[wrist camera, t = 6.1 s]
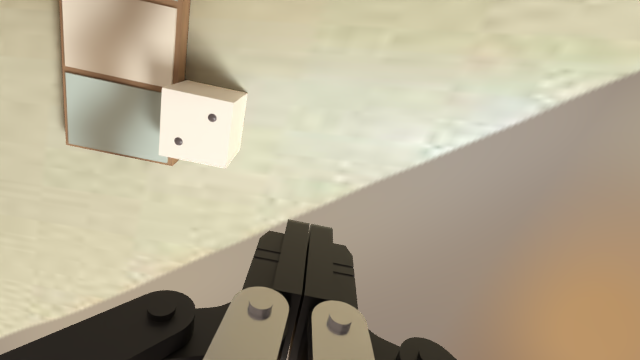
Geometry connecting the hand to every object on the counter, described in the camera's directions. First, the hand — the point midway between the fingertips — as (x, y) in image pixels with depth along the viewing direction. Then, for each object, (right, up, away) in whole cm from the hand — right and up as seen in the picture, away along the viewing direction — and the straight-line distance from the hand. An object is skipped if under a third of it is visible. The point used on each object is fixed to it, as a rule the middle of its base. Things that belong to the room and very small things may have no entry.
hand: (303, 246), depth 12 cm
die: (-7, +7, +12) cm, 16 cm away
